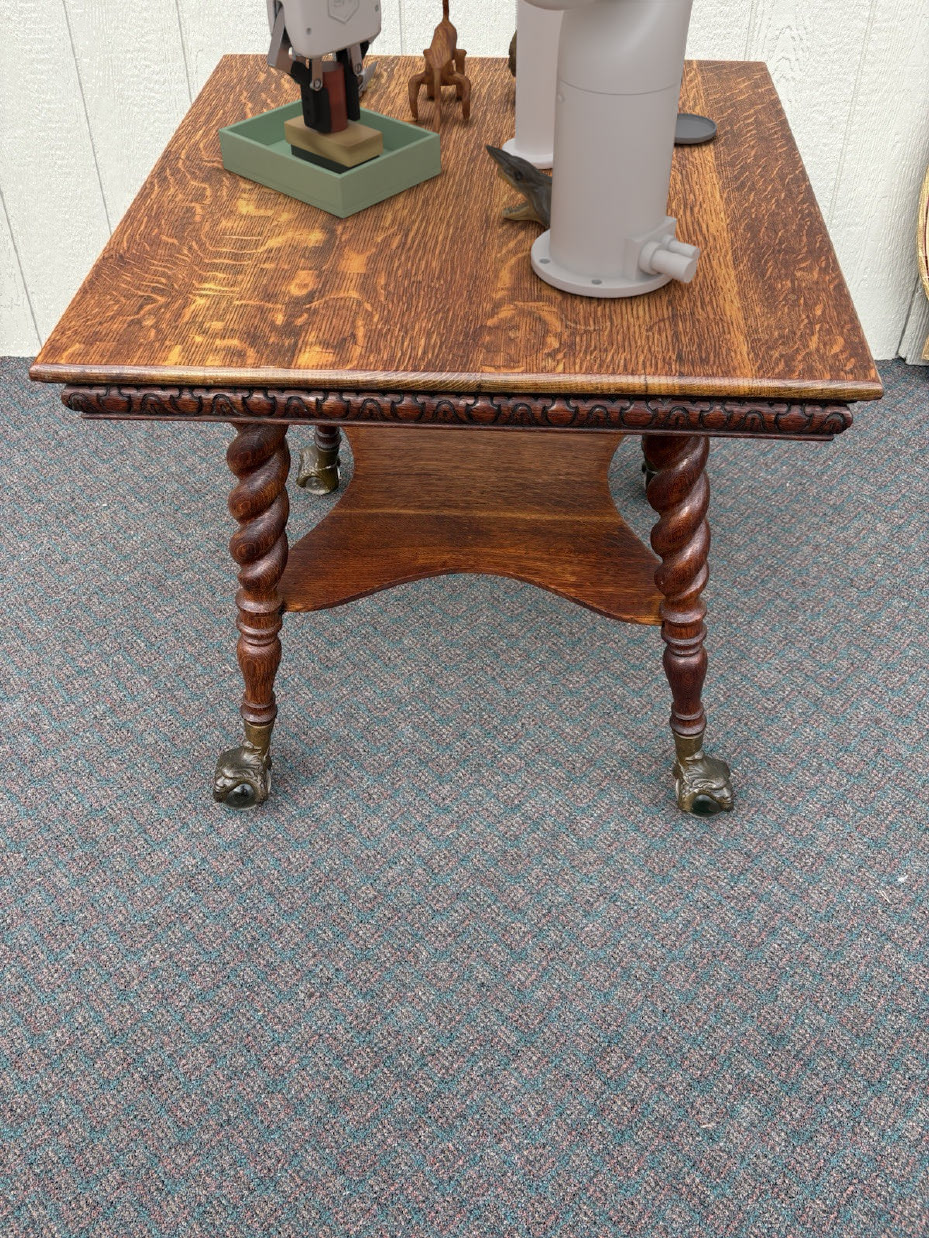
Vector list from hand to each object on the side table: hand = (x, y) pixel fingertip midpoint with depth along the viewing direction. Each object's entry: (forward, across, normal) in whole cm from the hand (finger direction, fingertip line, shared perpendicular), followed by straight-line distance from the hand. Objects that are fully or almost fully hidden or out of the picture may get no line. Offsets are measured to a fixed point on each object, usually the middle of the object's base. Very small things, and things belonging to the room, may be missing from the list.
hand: (332, 121), depth 108 cm
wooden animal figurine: (+5, +17, +2) cm, 18 cm away
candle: (+5, +16, -12) cm, 21 cm away
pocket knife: (+5, +17, +14) cm, 23 cm away
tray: (+5, 0, +1) cm, 5 cm away
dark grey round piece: (+5, +30, -19) cm, 36 cm away
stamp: (+4, 0, 0) cm, 4 cm away
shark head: (+5, +4, -21) cm, 22 cm away
